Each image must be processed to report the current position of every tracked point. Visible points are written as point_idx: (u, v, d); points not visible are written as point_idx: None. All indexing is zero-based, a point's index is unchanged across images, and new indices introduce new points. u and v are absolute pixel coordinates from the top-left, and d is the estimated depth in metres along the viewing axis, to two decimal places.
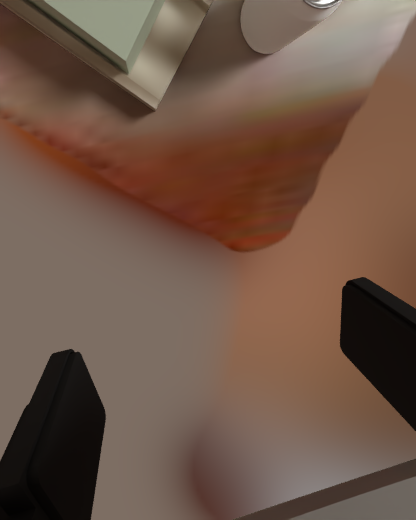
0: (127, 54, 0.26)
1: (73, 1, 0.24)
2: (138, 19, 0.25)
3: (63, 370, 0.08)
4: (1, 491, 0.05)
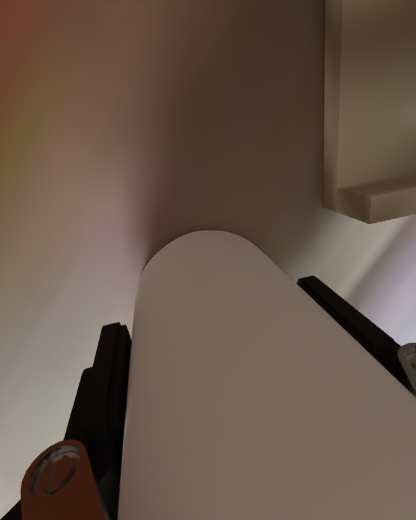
0: None
1: None
2: None
3: (116, 338, 0.09)
4: (88, 427, 0.06)
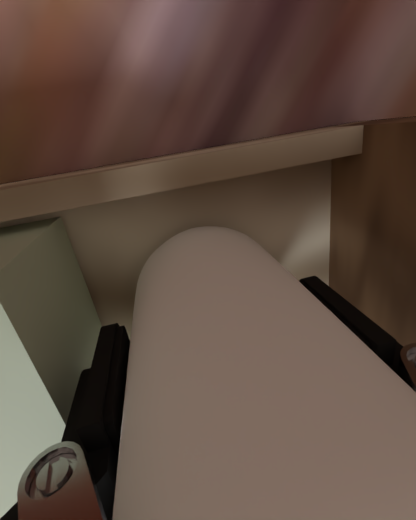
0: None
1: None
2: None
3: (115, 339, 0.09)
4: (85, 428, 0.06)
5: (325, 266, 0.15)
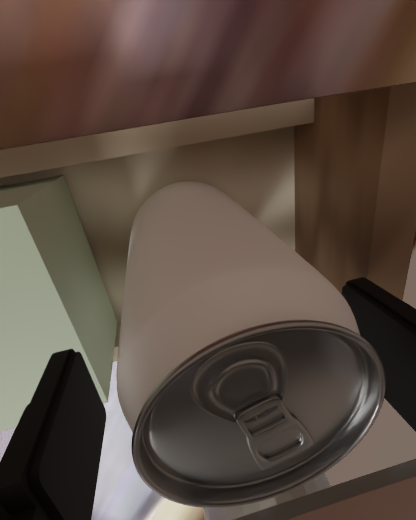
0: None
1: None
2: None
3: (64, 370, 0.08)
4: (2, 490, 0.05)
5: (291, 225, 0.18)
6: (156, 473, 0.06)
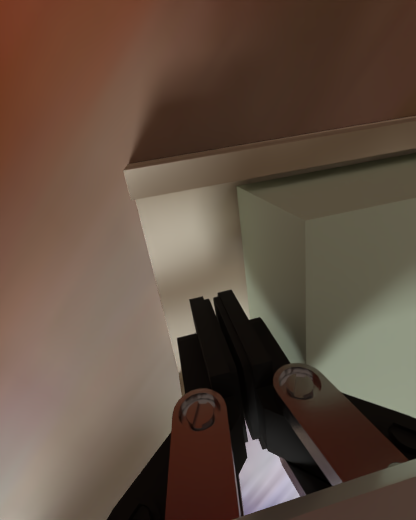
0: (308, 240, 0.07)
1: None
2: (322, 327, 0.08)
3: (208, 309, 0.10)
4: (218, 377, 0.07)
5: None
6: None
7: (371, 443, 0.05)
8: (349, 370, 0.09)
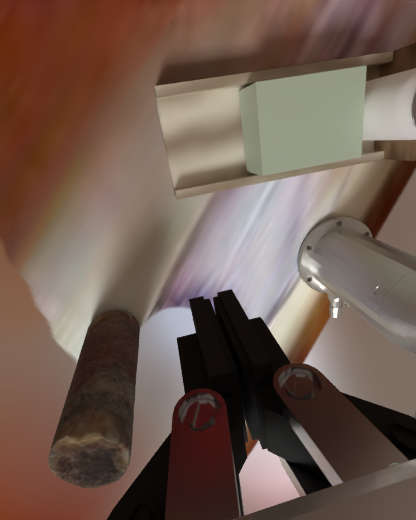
0: (257, 88, 0.28)
1: (306, 89, 0.29)
2: (263, 118, 0.29)
3: (208, 309, 0.10)
4: (218, 377, 0.07)
5: None
6: (410, 117, 0.27)
7: (371, 443, 0.05)
8: (273, 138, 0.30)
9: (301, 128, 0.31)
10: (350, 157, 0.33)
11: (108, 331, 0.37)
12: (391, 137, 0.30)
